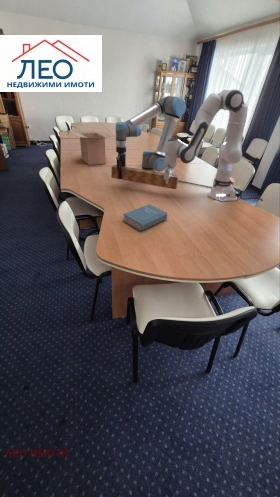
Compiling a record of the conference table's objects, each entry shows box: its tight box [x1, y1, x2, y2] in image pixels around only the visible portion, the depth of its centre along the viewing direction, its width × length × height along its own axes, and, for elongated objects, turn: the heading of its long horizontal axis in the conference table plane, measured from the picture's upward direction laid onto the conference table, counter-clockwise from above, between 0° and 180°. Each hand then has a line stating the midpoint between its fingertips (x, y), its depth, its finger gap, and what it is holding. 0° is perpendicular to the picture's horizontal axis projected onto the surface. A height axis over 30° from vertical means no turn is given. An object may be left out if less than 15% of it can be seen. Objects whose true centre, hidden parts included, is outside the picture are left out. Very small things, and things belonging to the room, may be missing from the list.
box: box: [70, 129, 114, 166], centre depth 229 cm, size 44×36×27 cm
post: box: [111, 164, 180, 190], centre depth 171 cm, size 52×5×9 cm, turn 72°
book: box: [122, 203, 168, 232], centre depth 138 cm, size 23×16×5 cm
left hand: (121, 177), depth 177 cm, fingers closed on post, 5 cm apart
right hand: (167, 182), depth 167 cm, fingers closed on post, 5 cm apart
